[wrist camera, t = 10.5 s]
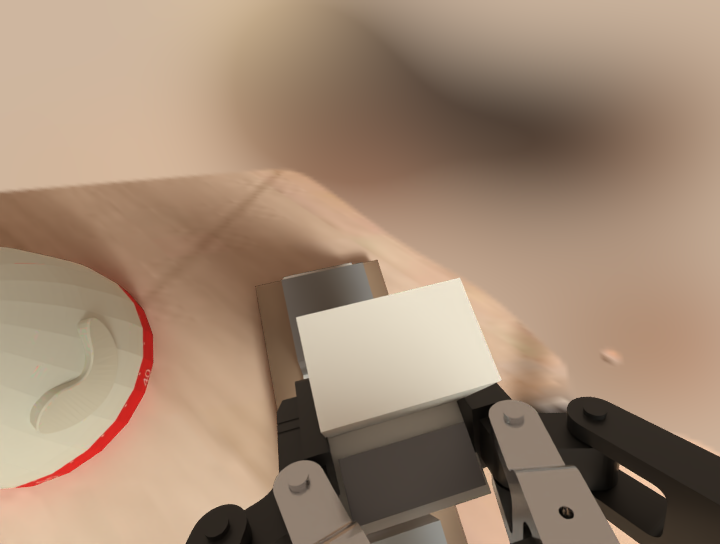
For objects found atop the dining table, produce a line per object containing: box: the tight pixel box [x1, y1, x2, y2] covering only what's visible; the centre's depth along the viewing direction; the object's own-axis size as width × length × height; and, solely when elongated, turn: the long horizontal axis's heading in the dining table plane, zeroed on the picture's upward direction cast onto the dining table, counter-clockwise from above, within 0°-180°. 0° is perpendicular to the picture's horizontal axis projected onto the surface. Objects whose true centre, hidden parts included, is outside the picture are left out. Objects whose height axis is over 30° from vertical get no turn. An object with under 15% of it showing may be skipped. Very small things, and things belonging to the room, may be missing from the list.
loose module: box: [296, 278, 501, 535], centre depth 13 cm, size 4×5×10 cm
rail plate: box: [255, 260, 468, 544], centre depth 23 cm, size 9×23×6 cm, turn 15°
